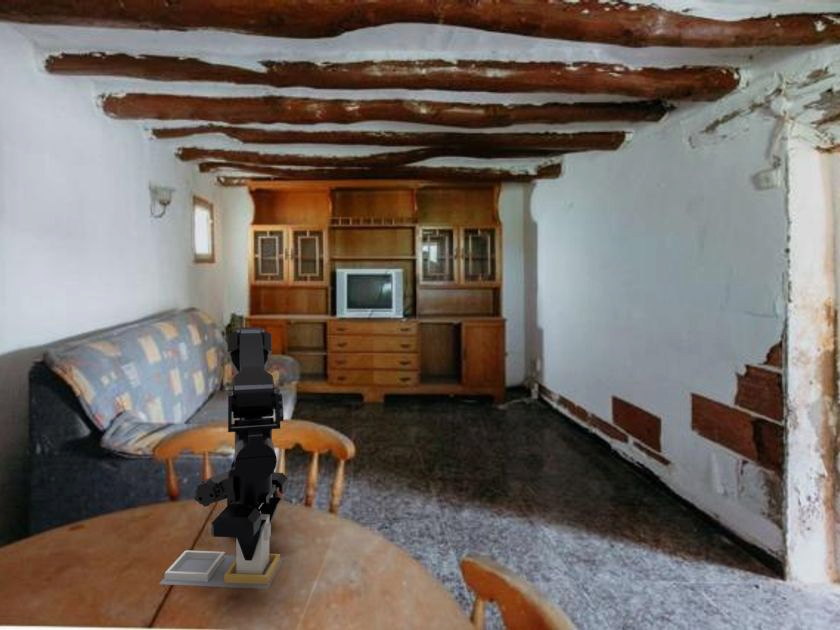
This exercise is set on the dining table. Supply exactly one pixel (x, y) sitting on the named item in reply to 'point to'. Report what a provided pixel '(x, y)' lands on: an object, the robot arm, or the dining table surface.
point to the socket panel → (217, 571)
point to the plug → (260, 554)
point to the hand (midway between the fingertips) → (253, 552)
